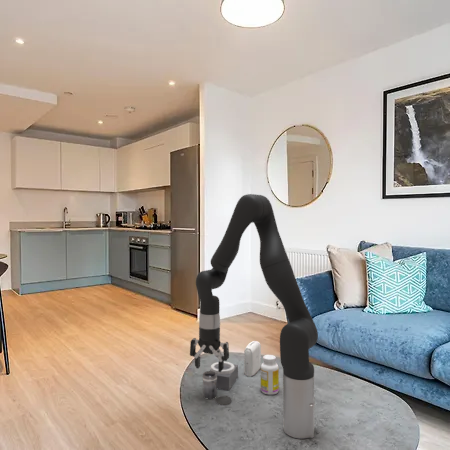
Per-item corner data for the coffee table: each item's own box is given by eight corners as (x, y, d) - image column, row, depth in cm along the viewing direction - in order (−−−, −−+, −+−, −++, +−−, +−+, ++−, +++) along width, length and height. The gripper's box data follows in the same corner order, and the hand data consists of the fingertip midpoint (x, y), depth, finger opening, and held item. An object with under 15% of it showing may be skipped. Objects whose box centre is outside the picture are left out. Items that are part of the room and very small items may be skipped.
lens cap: (233, 399, 130) (233, 397, 130) (229, 407, 125) (229, 404, 125) (218, 397, 132) (218, 395, 132) (213, 404, 127) (213, 402, 127)
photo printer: (252, 377, 147) (252, 347, 147) (242, 375, 149) (242, 345, 149) (262, 368, 156) (262, 339, 156) (252, 366, 158) (252, 338, 158)
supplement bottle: (278, 387, 139) (278, 353, 138) (279, 396, 132) (279, 360, 132) (260, 386, 139) (260, 353, 139) (260, 395, 133) (260, 360, 132)
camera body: (238, 377, 148) (238, 361, 147) (229, 390, 136) (229, 374, 136) (216, 374, 150) (216, 359, 150) (206, 387, 139) (206, 371, 139)
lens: (218, 393, 134) (218, 371, 134) (214, 400, 129) (214, 377, 129) (205, 391, 135) (205, 369, 135) (200, 398, 130) (200, 375, 130)
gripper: (187, 326, 130) (186, 370, 131) (225, 330, 126) (224, 376, 126) (195, 320, 137) (194, 362, 138) (231, 324, 133) (230, 368, 134)
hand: (209, 369), depth 132 cm, fingers open, 8 cm apart
